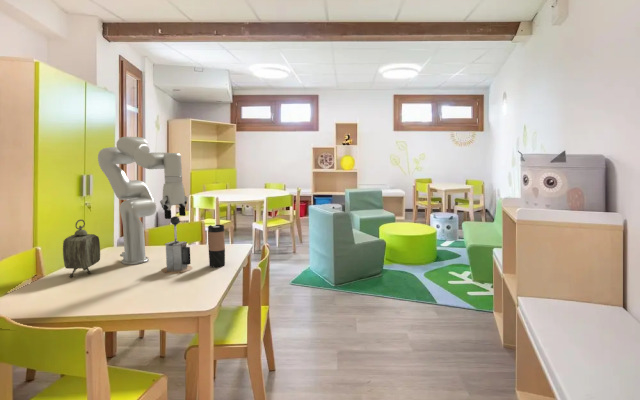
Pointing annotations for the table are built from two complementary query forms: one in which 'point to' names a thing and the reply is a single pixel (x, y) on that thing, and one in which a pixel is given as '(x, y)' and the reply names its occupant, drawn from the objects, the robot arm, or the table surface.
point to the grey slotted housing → (177, 256)
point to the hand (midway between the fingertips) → (175, 217)
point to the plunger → (175, 221)
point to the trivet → (176, 272)
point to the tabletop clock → (81, 250)
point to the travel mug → (216, 246)
